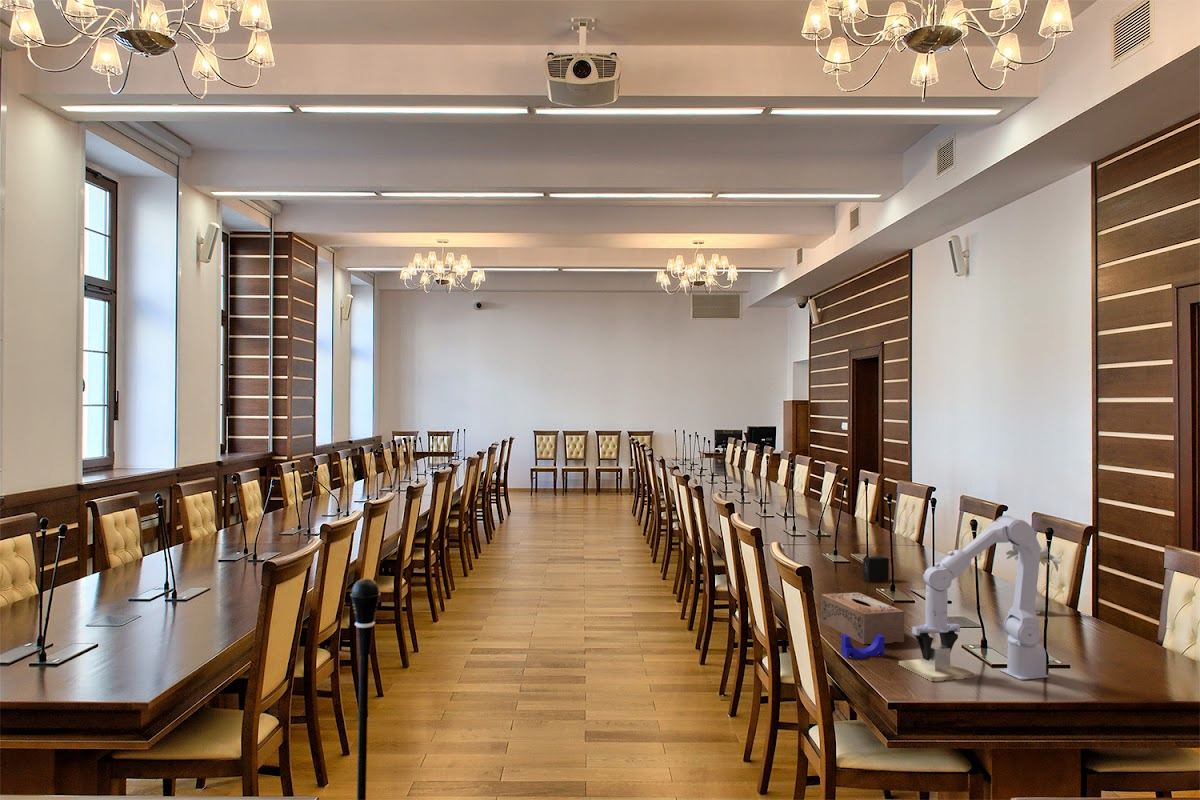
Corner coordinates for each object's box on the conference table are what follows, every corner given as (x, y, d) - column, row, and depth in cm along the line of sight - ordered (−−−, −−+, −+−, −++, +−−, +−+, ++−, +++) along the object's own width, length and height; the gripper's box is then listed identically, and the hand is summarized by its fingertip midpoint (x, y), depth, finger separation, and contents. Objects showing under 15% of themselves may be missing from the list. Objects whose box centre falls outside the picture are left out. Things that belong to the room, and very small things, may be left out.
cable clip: (846, 658, 231) (847, 638, 231) (841, 654, 236) (841, 634, 236) (886, 658, 232) (886, 638, 232) (880, 653, 236) (880, 634, 236)
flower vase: (1066, 618, 279) (1067, 548, 279) (1010, 614, 283) (1011, 545, 283) (1053, 609, 292) (1054, 542, 292) (1000, 605, 295) (1001, 539, 296)
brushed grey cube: (937, 663, 223) (938, 642, 223) (950, 669, 219) (950, 648, 219) (922, 665, 222) (923, 644, 222) (934, 671, 217) (935, 649, 217)
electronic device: (862, 580, 337) (863, 557, 337) (882, 579, 340) (882, 556, 340) (869, 582, 333) (869, 558, 333) (888, 581, 336) (888, 557, 336)
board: (939, 661, 229) (939, 657, 229) (974, 677, 216) (974, 673, 216) (898, 665, 225) (898, 661, 225) (931, 681, 212) (931, 677, 212)
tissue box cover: (903, 642, 248) (904, 611, 248) (863, 645, 244) (864, 613, 244) (858, 621, 273) (858, 592, 273) (821, 623, 269) (821, 594, 269)
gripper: (924, 615, 215) (923, 665, 215) (968, 612, 219) (967, 661, 219) (907, 609, 222) (906, 657, 222) (950, 606, 226) (949, 653, 225)
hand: (935, 658), depth 221 cm, fingers open, 6 cm apart
